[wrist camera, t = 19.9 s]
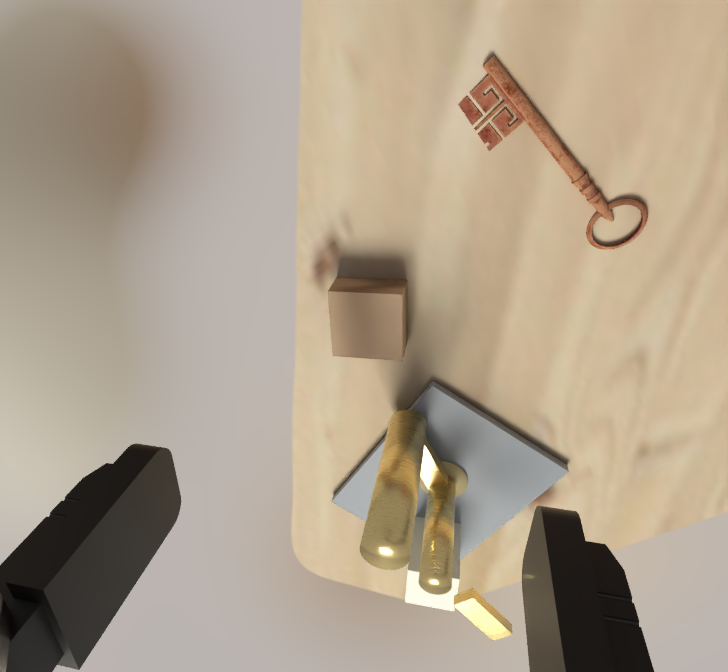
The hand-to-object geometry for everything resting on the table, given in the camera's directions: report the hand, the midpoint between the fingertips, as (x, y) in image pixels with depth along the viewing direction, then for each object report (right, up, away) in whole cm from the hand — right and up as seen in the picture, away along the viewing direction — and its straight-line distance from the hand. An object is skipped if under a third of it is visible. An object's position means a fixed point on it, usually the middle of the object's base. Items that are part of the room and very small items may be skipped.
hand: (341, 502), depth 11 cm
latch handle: (+8, -9, +34) cm, 36 cm away
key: (+13, +15, +22) cm, 30 cm away
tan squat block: (+1, +6, +29) cm, 30 cm away
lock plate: (+8, -10, +36) cm, 38 cm away
